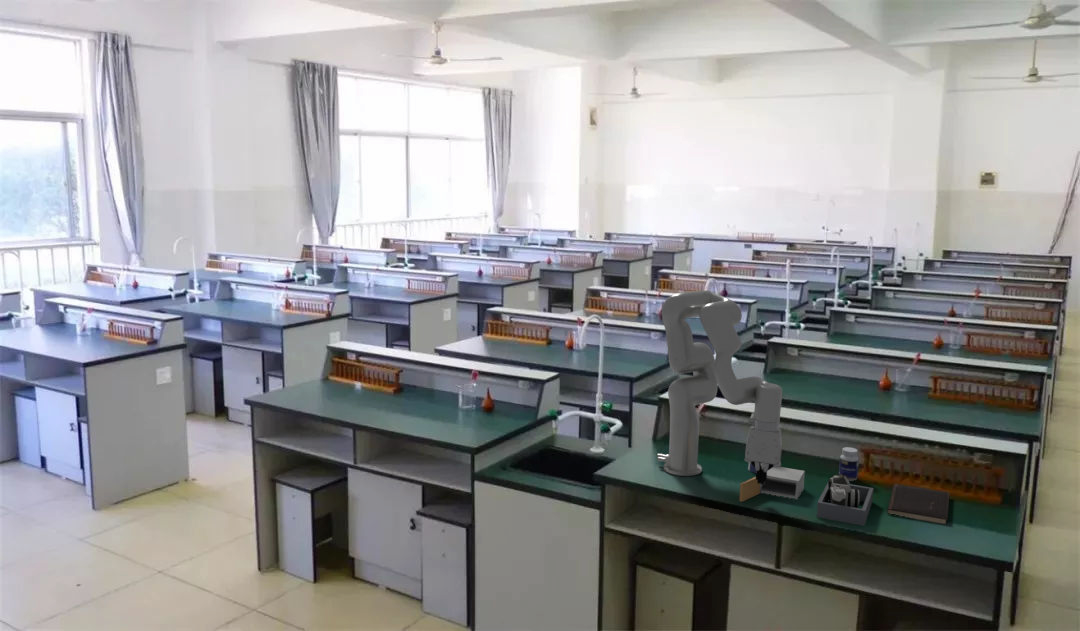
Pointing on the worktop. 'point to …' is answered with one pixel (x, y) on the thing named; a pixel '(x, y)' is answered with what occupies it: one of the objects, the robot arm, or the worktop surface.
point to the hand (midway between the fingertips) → (760, 482)
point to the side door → (749, 489)
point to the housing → (784, 482)
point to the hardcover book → (919, 503)
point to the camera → (842, 492)
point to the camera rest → (846, 507)
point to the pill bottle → (849, 463)
